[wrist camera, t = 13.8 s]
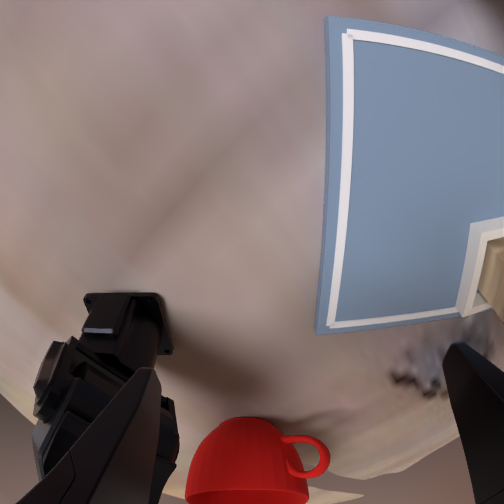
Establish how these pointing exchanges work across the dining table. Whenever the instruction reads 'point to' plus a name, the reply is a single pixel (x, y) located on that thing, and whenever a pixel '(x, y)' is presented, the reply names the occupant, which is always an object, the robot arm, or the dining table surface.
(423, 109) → the board
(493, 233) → the collar
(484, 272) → the maple pillar
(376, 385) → the dining table surface
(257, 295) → the dining table surface
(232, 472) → the ceramic cup
